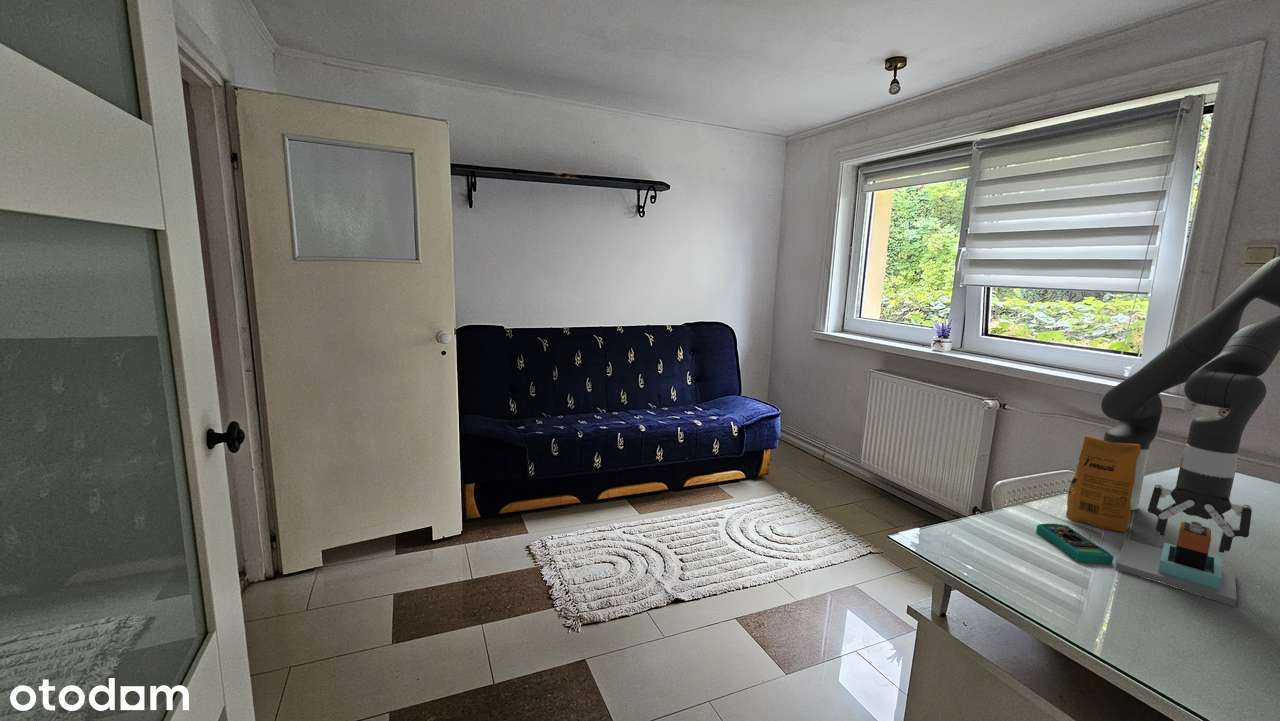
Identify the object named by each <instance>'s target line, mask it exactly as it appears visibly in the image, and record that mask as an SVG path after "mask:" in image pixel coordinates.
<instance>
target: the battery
mask: <svg viewBox="0 0 1280 721" xmlns="http://www.w3.org/2000/svg"><path fill="white" fill-rule="evenodd" d="M1211 542H1212V529H1211V528H1210V527H1206V526H1203V524H1202V523H1201V522H1197V521H1191V522H1188V521H1181V523H1180V527H1179V531H1178V538H1177V541H1176V551H1175V556H1174V563H1178V564H1181V565H1184V566H1188V567H1191V568H1195V569H1198V570H1202V571H1205V566H1206V561H1207V556H1208V555H1209V550H1210V547H1211Z"/></svg>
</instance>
